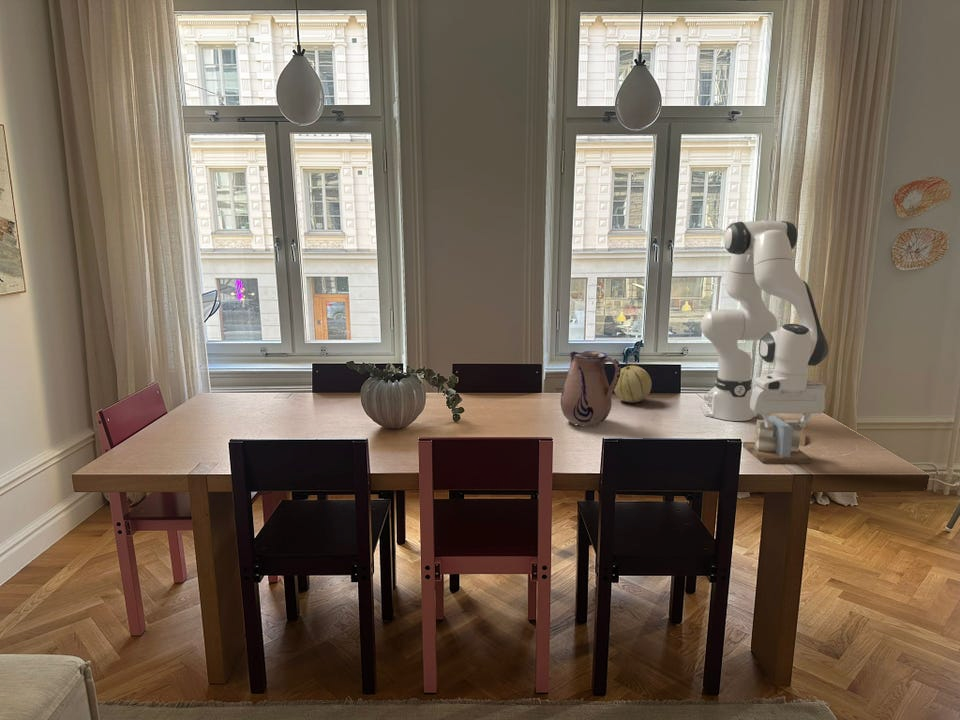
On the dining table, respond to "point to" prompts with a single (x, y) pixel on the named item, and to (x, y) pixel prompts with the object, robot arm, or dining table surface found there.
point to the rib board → (775, 456)
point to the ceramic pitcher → (588, 388)
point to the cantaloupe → (633, 384)
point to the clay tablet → (802, 438)
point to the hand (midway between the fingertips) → (784, 427)
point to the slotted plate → (782, 436)
